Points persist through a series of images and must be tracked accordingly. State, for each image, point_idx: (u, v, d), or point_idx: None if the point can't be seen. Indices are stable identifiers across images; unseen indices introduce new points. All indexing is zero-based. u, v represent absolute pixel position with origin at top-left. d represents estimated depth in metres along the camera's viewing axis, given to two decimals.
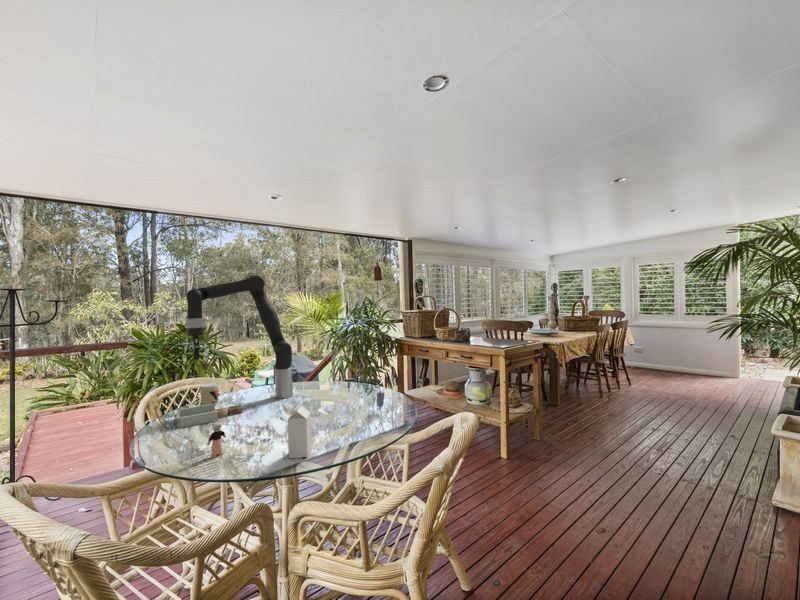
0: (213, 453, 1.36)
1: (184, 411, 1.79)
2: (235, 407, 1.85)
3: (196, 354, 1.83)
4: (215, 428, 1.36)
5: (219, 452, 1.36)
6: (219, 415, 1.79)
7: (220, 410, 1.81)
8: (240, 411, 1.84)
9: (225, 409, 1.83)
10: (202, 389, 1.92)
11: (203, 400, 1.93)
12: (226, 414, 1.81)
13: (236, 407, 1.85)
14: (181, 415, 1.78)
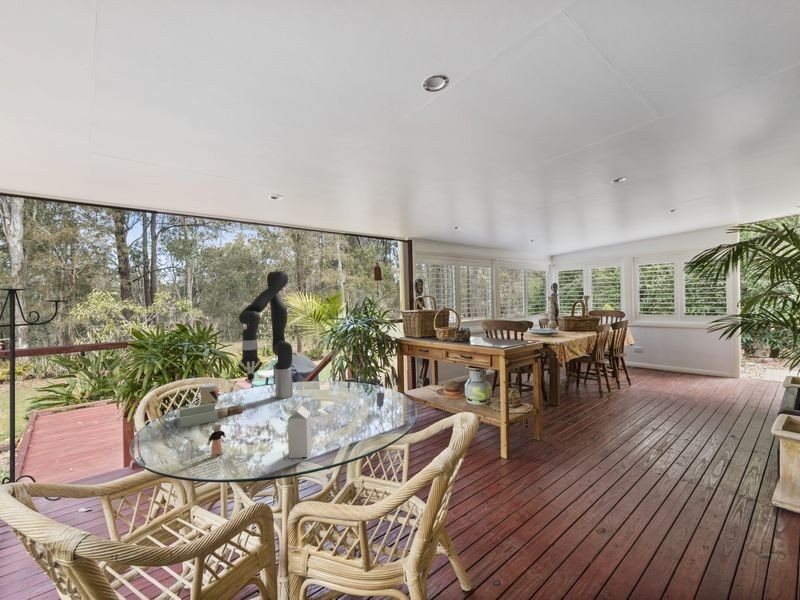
0: (213, 453, 1.36)
1: (184, 411, 1.79)
2: (235, 407, 1.85)
3: None
4: (215, 428, 1.36)
5: (219, 452, 1.36)
6: (219, 415, 1.79)
7: (220, 410, 1.81)
8: (240, 411, 1.84)
9: (225, 409, 1.83)
10: (202, 389, 1.92)
11: (203, 400, 1.93)
12: (226, 414, 1.81)
13: (236, 407, 1.85)
14: (181, 415, 1.78)
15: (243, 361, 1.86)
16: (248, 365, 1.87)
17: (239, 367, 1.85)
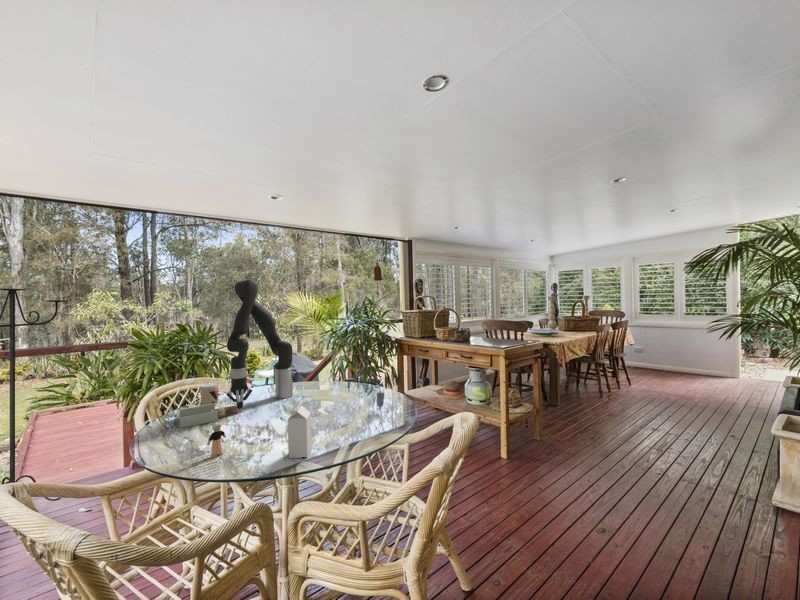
0: (213, 453, 1.36)
1: (184, 411, 1.79)
2: (230, 408, 1.85)
3: None
4: (215, 428, 1.36)
5: (219, 452, 1.36)
6: None
7: (217, 410, 1.81)
8: (235, 412, 1.83)
9: (222, 409, 1.82)
10: (202, 389, 1.92)
11: (203, 400, 1.93)
12: (223, 414, 1.80)
13: (231, 408, 1.85)
14: (181, 415, 1.78)
15: (232, 390, 1.84)
16: (237, 394, 1.84)
17: (228, 396, 1.82)
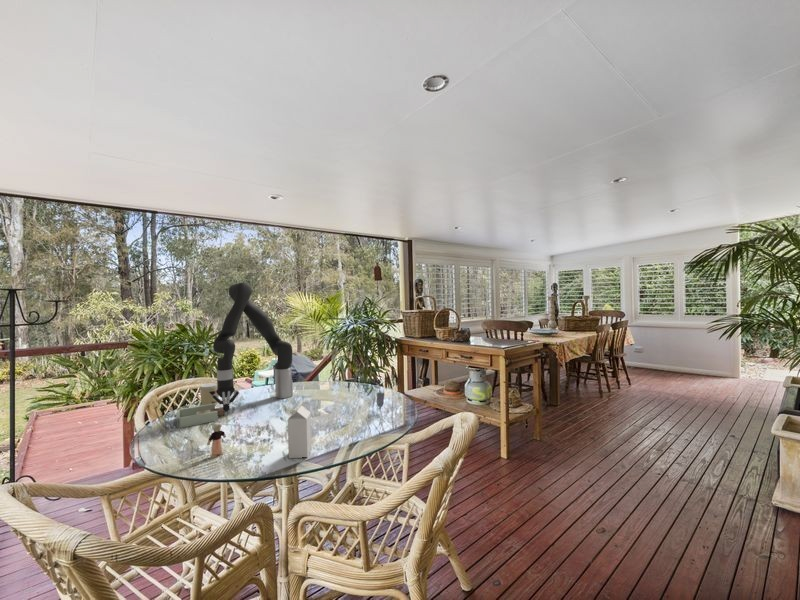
0: (213, 453, 1.36)
1: (184, 411, 1.79)
2: (216, 410, 1.82)
3: None
4: (215, 428, 1.36)
5: (219, 452, 1.36)
6: None
7: (203, 412, 1.78)
8: (221, 414, 1.81)
9: (208, 411, 1.79)
10: (202, 389, 1.92)
11: (203, 400, 1.93)
12: None
13: (217, 410, 1.82)
14: (181, 415, 1.78)
15: (218, 392, 1.80)
16: (223, 396, 1.81)
17: (214, 398, 1.79)
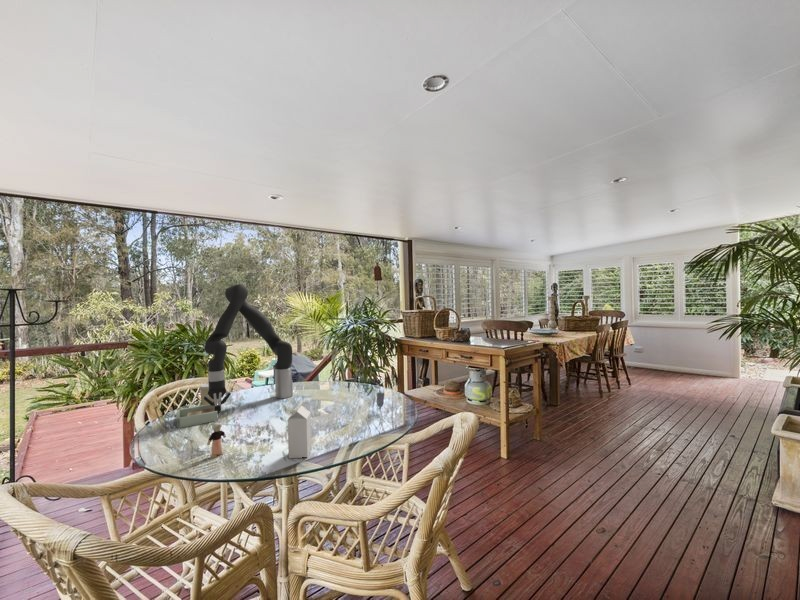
0: (213, 453, 1.36)
1: (184, 411, 1.79)
2: (208, 410, 1.82)
3: None
4: (215, 428, 1.36)
5: (219, 452, 1.36)
6: None
7: (194, 414, 1.76)
8: None
9: (199, 413, 1.77)
10: (202, 389, 1.92)
11: (203, 400, 1.93)
12: None
13: (209, 410, 1.81)
14: (181, 415, 1.78)
15: (209, 393, 1.78)
16: (214, 397, 1.79)
17: (205, 399, 1.77)
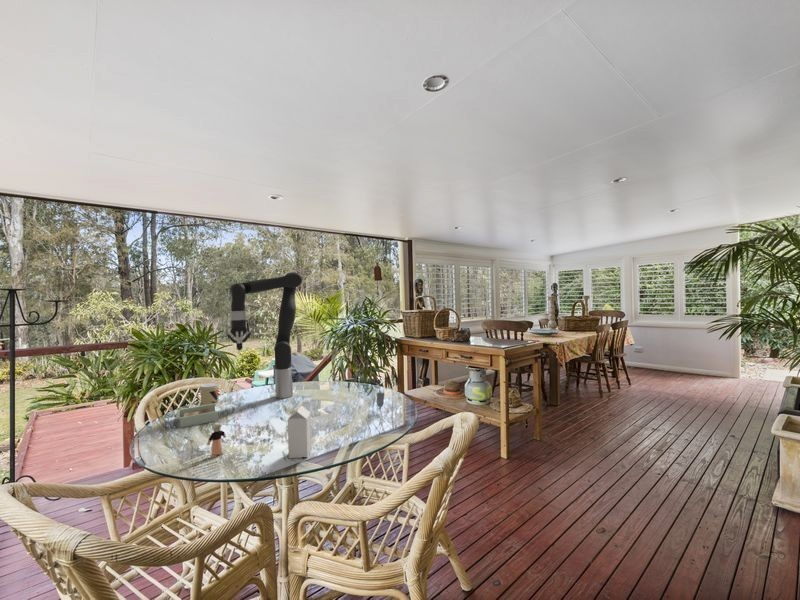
0: (213, 453, 1.36)
1: (184, 411, 1.79)
2: (205, 411, 1.81)
3: None
4: (215, 428, 1.36)
5: (219, 452, 1.36)
6: None
7: (190, 414, 1.76)
8: None
9: (196, 413, 1.77)
10: (202, 389, 1.92)
11: (203, 400, 1.93)
12: None
13: (206, 411, 1.81)
14: (181, 415, 1.78)
15: (232, 331, 1.94)
16: (237, 335, 1.95)
17: None
